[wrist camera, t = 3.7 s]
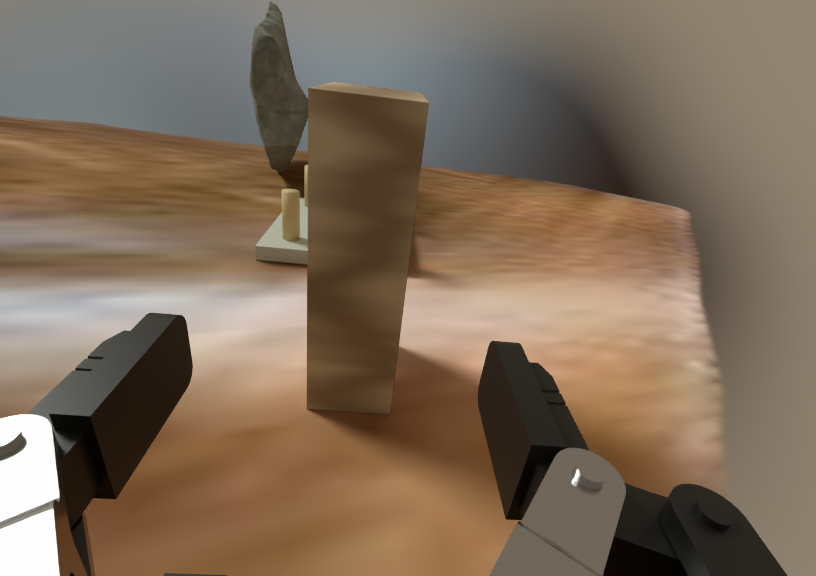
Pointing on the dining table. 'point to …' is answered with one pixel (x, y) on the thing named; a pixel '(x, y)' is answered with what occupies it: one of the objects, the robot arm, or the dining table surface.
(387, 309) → the tan wooden block
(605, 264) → the dining table surface
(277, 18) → the rock
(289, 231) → the peg board
